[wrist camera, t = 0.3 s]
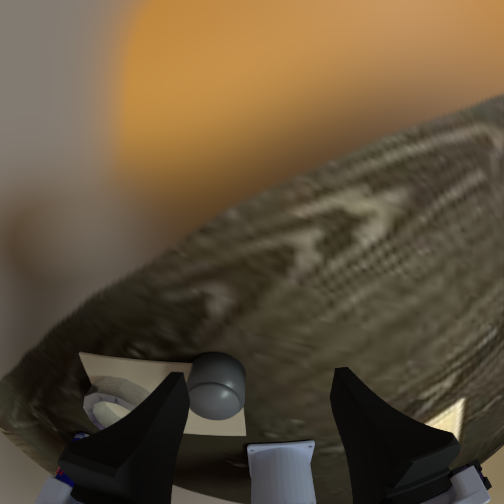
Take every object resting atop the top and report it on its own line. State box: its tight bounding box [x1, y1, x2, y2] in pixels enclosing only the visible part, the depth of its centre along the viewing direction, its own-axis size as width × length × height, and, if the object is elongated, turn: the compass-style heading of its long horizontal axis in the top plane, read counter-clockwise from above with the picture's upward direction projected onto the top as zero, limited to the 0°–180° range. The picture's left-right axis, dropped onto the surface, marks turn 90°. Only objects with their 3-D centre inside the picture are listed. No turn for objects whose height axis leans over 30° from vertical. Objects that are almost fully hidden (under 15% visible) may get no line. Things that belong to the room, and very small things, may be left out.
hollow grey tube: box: [83, 376, 151, 430], centre depth 24 cm, size 9×9×3 cm
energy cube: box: [448, 459, 492, 490], centre depth 31 cm, size 12×12×12 cm
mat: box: [79, 352, 246, 436], centre depth 25 cm, size 11×17×1 cm, turn 92°
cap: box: [186, 353, 246, 420], centre depth 21 cm, size 5×5×4 cm
